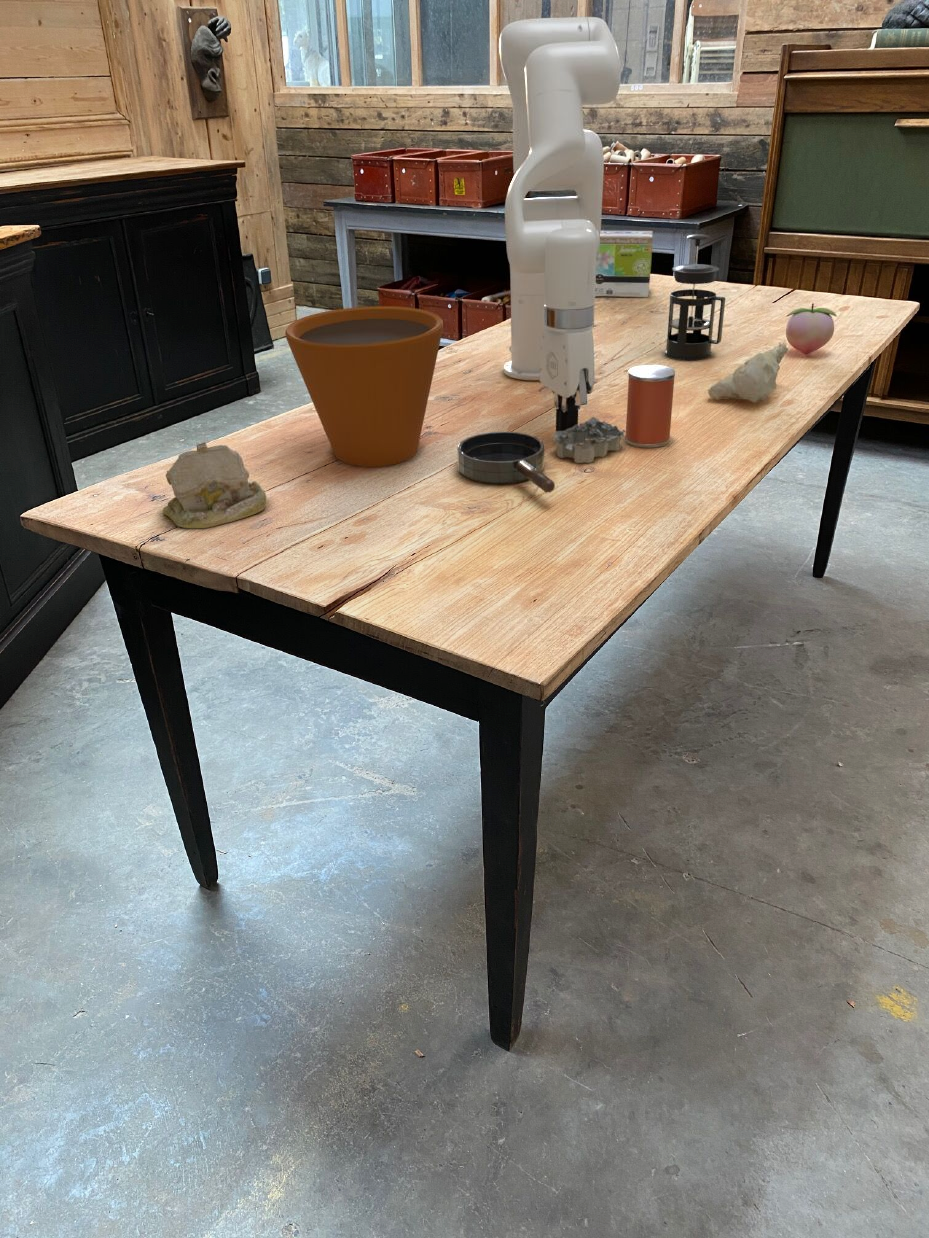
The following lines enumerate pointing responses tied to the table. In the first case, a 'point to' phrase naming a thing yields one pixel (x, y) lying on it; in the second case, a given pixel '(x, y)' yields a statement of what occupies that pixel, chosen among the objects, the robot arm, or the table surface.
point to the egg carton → (588, 440)
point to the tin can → (649, 406)
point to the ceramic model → (211, 488)
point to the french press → (692, 343)
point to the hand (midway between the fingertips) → (566, 432)
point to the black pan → (499, 456)
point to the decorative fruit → (809, 328)
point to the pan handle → (535, 476)
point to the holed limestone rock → (751, 377)
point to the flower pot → (368, 377)
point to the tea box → (624, 263)
